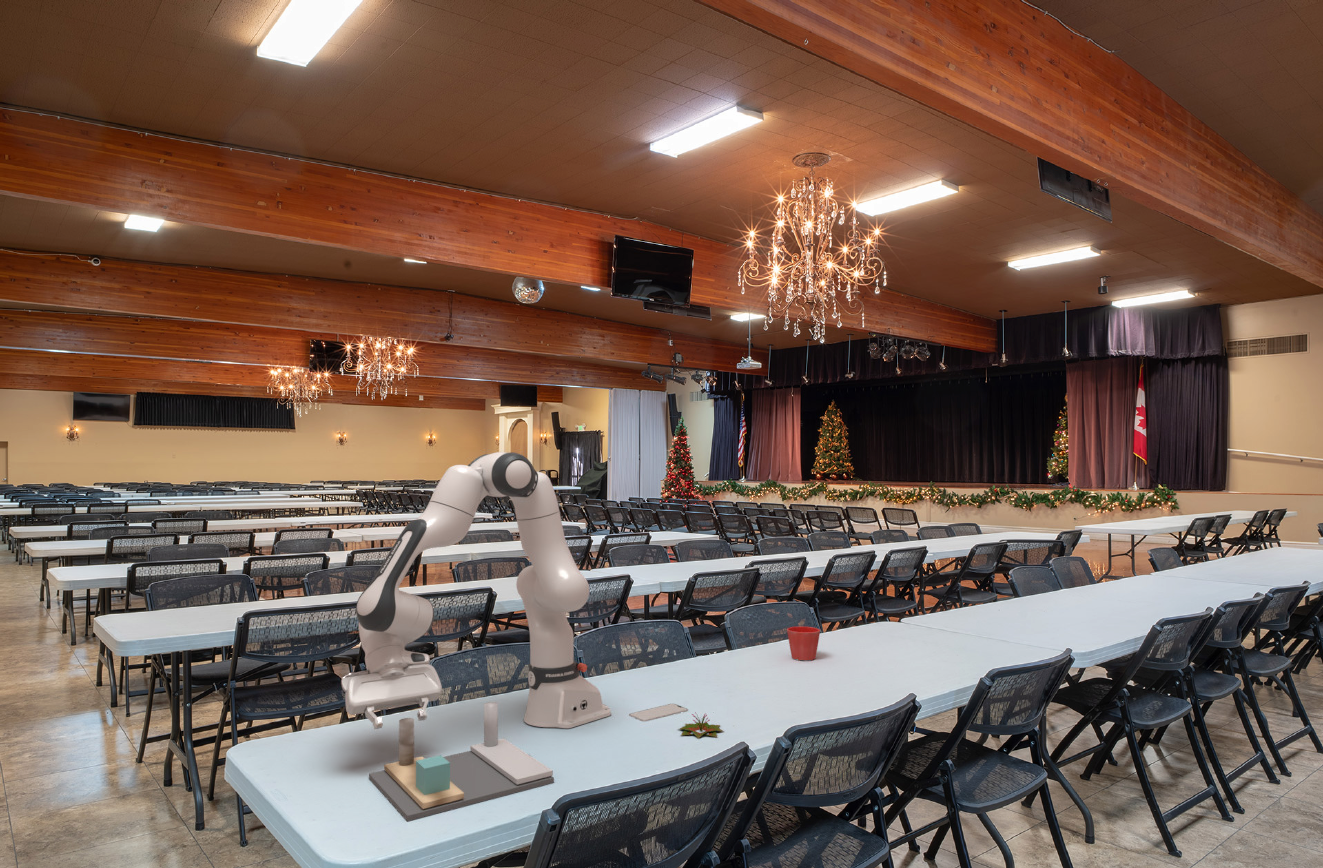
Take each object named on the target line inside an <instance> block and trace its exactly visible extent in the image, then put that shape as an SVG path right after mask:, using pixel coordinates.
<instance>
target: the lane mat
mask: <svg viewBox="0 0 1323 868" xmlns="http://www.w3.org/2000/svg"><path fill="white" fill-rule="evenodd" d="M443 757H444V758H445V759H446V760H447V761H448V762H450V781H451V782H452V783H453V784H454V785H455V786H457V787H458V788H459V789H460V790H461V791H462V792H463V793H464V799H460V800H456V801H452V802H448V803H444V804H440V805H437V806H433V807H429V808H425V809H422V808H421V807H420V806H419V805H418V804H417V803H416V802H415V800H414V799H413V798H412V797H411V796H410V795H409V794H408V793H407V792H406V791H405V790H404V789H403V788H402V787H401V786H400V785H399V784H398V783H397V782H396V781H395V780H394V779H393V778H392V777H391V776H390V775H389V774H388V773H387V772H386V771H385V770H384V769H383V770H378V771H374V772H370V773H368V779H369V780H370V781H371V782H372V784H373V785H374V786H375V787H376V788H377V790H378V791H380V792H381V794H382V795H383V796H384V797H385V798H386V800H388V802H390V804H391V805H392V806H393V807H394V809H396V811H397V812H399V814H400V815H401V816H402V817H403V818H404V820H406V822H411V821H414V820H418V819H417V818H419V819H422V818H425V817H424V816H426V817H429V815H430V816H433V815H432V814H434V815H437V814H440V812H441V813H445V812H448V810H449V811H452V810H451V809H453V810H456V809H460V808H463V807H467V806H471V805H475V804H479V803H482V802H486V801H490V800H494V799H497V798H501V797H505V796H509V795H512V794H517V793H520V792H524V791H527V790H531V789H535V788H539V787H543V786H547V785H550V784H554V783H555V778H554V777H553V776H549V777H545V778H541V779H537V780H533V781H529V782H526V783H522V784H518V785H517V784H515V783H514V782H513V781H511V780H510V779H509V778H507V777H506V776H504V775H503V774H502V773H500V772H499V771H498V770H496V769H495V768H494V767H492V766H491V765H490V764H488V763H487V762H486V761H484V760H483V759H482V758H480V757H479V756H478V755H476V754H475V753H473V752H472V751H471V750H467V751H463V752H460V753H459V752H458V753H455V754H451V755H446V756H443Z"/></svg>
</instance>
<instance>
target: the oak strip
mask: <svg viewBox="0 0 1323 868" xmlns="http://www.w3.org/2000/svg"><path fill="white" fill-rule="evenodd" d="M398 732H399V733H398V761H396V762H395V761H394V762H391V763H385V764H383V765H384V766H383V767H384V768H383V770H385V771H386V772H387V773H388V774H389V775H390V776H391V777H392V778H393V779H394V780H395V781H396V782H397V783H398V784H399V785H400V786H401V787H402V788H403V789H404V790H405V791H406V792H407V793H408V794H409V795H410V796H411V797H412V798H413V799H414V800H415V802H416V803H417V804H418V805H419V806H420V807H421V808H422V809H425V808H429V807H433V806H437V805H440V804H444V803H448V802H452V801H456V800H460V799H464V793H463V792H462V791H461V790H460V789H459V788H458V787H457V786H455V785H454V784H453V783H452V782H451V781H450V789H448V790H444V791H440V792H436V793H432V794H428V795H424V794H423V793H422V792H421V791H420V790H419V789H417V788H416V761H417V760H422V759H425V757H424V756H417V757H415V718H413V717H403V718H401V719H399V721H398Z"/></svg>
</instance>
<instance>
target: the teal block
mask: <svg viewBox="0 0 1323 868" xmlns="http://www.w3.org/2000/svg"><path fill="white" fill-rule="evenodd" d="M444 757H445V756H442V755H436V756H431V757H427V758H424V759H422V760H417V761H416V788H417V789H419V790H420V791H421V792H422V793H423V794H424V795H428V794H432V793H436V792H440V791H444V790H448V789H450V762H448V761H447V760H446V759H445V758H444Z"/></svg>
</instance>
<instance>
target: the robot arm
mask: <svg viewBox="0 0 1323 868" xmlns="http://www.w3.org/2000/svg"><path fill="white" fill-rule="evenodd" d="M432 493H433V494H432V495H431V498H430V499H429V502H428V504H427V506H426V507H425V509H424V511H423V512H422V514H420V516H419V517H418V518H416V519H414V520H411V521H410V522H409V523H408V524H407V525H406V526H405V527H404V528H403V530H402V531H401V533H400V534H399V536H398V537H397V539H396V541H395V543H394V544H393V546H392V547H391V549H390V550H389V553H388V554H387V556H386V557H385V559H384V560H383V562H382V564H381V566H380V567H379V569H378V571H377V573H376V574H375V576H374V577H373V579H372V580H371V581H370V583H369V584H368V585H367V586H366V588H364V590H363V591H362V593H361V594H360V596H359V597H358V599H357V601H356V605H355V612H356V613H355V614H356V618H357V621H358V632H359V633H358V635H359V639H360V644H361V648H362V650H363V651H364V654H365V656H364V662H365V667H366V670H361V671H357V672H348V673H347V674H346V675H344V676H343V677H342V678H341V681H340V685H341V688H342V691H343V692H345V694H344V695H345V696H344V697H345V699H344V700H345V711H346V712H347V713H348V714H349V715H350V716H354V715H359V714H365V715H364V716H365V718H366V719H368V720H369V721H370V722H371V723H372V726H373V729H374V730H378V729H383V728H382V727H383V725H384V722H383V719H382V716H379V717H378V716H377V715H376V714H375V713H374V712H377V711H384V710H388V709H395V708H401V707H406V706H412V705H417V704H418V705H419V707H420V708H421V709H418V712H417V713H416V716H417V717H416V718H418V719H417V720H418V722H421V721H426V720H427V718H428V714H427V711H426V710H427V707H428V704H429V702H435V701H437V700H438V699H439V697H440V696H441V693H442V691H443V686H442V683H441V680H440V677H439V675H438V672H437V670H436V669H435V667H434V666H433V665H432V664H430V662H431V661H430V659H431V658H430V656H429V654H427V653H423V652H422V653H421V652H415V651H410V650H407V649H405V647H406V645H409V644H411V643H413V642H415V641H417V640H418V639H421V638H422V637H423V636H425V634H427V633H428V632H429V631H430V630H431V628H432V626H433V623H434V619H435V611H434V610H435V609H434V607H433V605H432V602H431V601H430V600H429V599H427V598H424V597H422V596H419V595H416V594H413V593H409V592H405V591H402V590H400V586H401V583H402V582H403V581H404V579H405V576H406V575H407V573H408V571H409V570H410V568H411V566H412V565H413V563H414V561H415V559H416V558H417V557H418V555H420V554H421V553H422V552H424V551H425V550H429V549H433V548H434V549H435V548H446V547H450V546H453V545H455V544H457V543H459V542H461V541H462V540H463V539H464V538H465V537H466V536H467V534H468V532H469V531H470V528H471V526H472V524H473V521H474V519H475V516H476V514H477V510H478V507H479V505H480V504H481V502H482V501H483V499H484V498H485V497H488V496H489V497H494V498H504V497H509V499H510V501H511V502H512V504H513V506H514V512H515V513H514V514H515V518H516V523H517V529H518V534H519V538H520V545H521V548H522V550H523V552H524V553H525V554H526V556H527V558H528V559H529V561H530V563H531V565H528V566H526V567H525V568H523V569H522V570H521V571H520V572H519V574H518V576H517V578H516V589H517V593H518V595H519V597H520V598H521V601H522V603H523V606H524V611H525V615H526V620H527V625H528V630H529V645H530V646H529V647H530V648H529V649H530V650H529V651H530V655H529V659H530V660H529V661H530V663H528V671H527V672H528V673H527V674H528V675H527V676H528V677H527V678H528V681H527V682H528V688H529V689H528V699H527V704H526V708H525V709H526V710H525V714H524V717H523V721H524V723H526V724H527V725H530V726H534V727H538V728H539V727H540V728H541V727H542V728H559V729H572V728H574V727H577V726H581V725H585V724H587V723H591V722H594V721H597V720H600V719H603V718H607V717H610V716H611V715H612V711H611V708H610V707H609V706H607V705H606V704H604V703H603V699H602V694H601V692H600V690H599V689H598V687H597V686H596V685H594V684H592V683H591V682H590V681H588V679H586V678H584V677H583V676H582V675H581V674H580V672H582V673H585V672H587V670H588V669H587V668H588V665H587V664H585V663H583V662H577V661H575V660H574V658H575V657H574V631H573V628H572V626H571V625H570V623H569V621H568V618H567V614H566V613H569V612H575V611H579V610H580V609H582V608H583V607H584V605H585V604H586V603H587V601H588V599H589V597H590V585H589V582H588V580H587V579H586V577H585V576H584V575H583V573H581V570H580V569H579V568H578V566H577V564H576V561H575V560H574V557H573V556H572V552H571V551H570V548H569V546H568V543H567V540H566V537H565V533H564V527H563V524H562V517H561V512H560V508H559V502H558V498H557V496H556V492H555V488H554V487H553V484H552V482H551V479H550V478H549V476H548V475H547V474H546V473H544V472H541V471H536V469H535V468H534V466H533V464H532V462H531V461H530V460H529V459H528V458H527V457H526V456H525V455H522V454H521V453H517V452H506V451H498V452H497V451H496V452H493V453H486V454H483V455H479V456H477V457H476V458H475V459H473V460H472V461H471V462H470V463H469V464H468V465H466V464H455V465H451V466H450V467H448V468H447V470H445V472H444V474H443V475H442V477H441V478H440V480H439V481H438V483H437V485H436V487H435V489H434V491H433V492H432Z"/></svg>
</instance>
